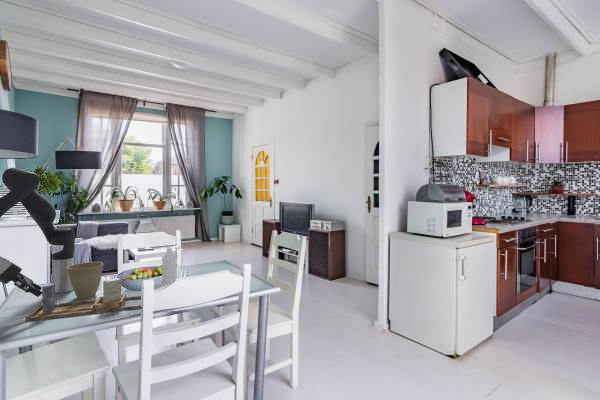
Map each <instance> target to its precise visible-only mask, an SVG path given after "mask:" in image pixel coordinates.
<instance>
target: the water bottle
mask: <svg viewBox="0 0 600 400" xmlns="http://www.w3.org/2000/svg"><path fill="white" fill-rule="evenodd" d="M173 249H175V250H177V249H180V246H178V245H176V246H174V247H173V248H172V247H167V248H166V251H165V253H164V254H163V256H162V258H161V261H162V266H161V267H162V269H161V270H162V278H161V279H162V282H161V283H162V287H163V286H165V285H168V284H170V283H172V282H173V281H175V280H176V279H177V276H178V275H177V255H176V254H175V253H174V252H173V251H174V250H173ZM176 281H177V280H176Z"/></svg>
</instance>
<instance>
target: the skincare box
mask: <svg viewBox="0 0 600 400" xmlns="http://www.w3.org/2000/svg"><path fill="white" fill-rule="evenodd" d="M102 282H103V283H102V286H103V287H102V288H103V289H102V290H103V291H102V294H103V295H102V296H103V303H111V302H120V300H121V294H122V278H120V277H119V278H118V277H114V278H109V279H105V280H103V281H102Z"/></svg>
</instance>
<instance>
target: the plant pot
mask: <svg viewBox="0 0 600 400" xmlns="http://www.w3.org/2000/svg"><path fill="white" fill-rule="evenodd" d="M103 267H104V263H103V262H102V261H89V262H81V263H74V265H71V266H68V267H67V270H68V275H69V279H70V282H71V285H72V287H73V290H72V291H73V292H74V294H75V296H76V298H77V299H78V300H87V299H91V298H93V297H95V296H96V295H97V292H98V290H99V286H100V283H101V279H102V274H103V270H104V269H103Z"/></svg>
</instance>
